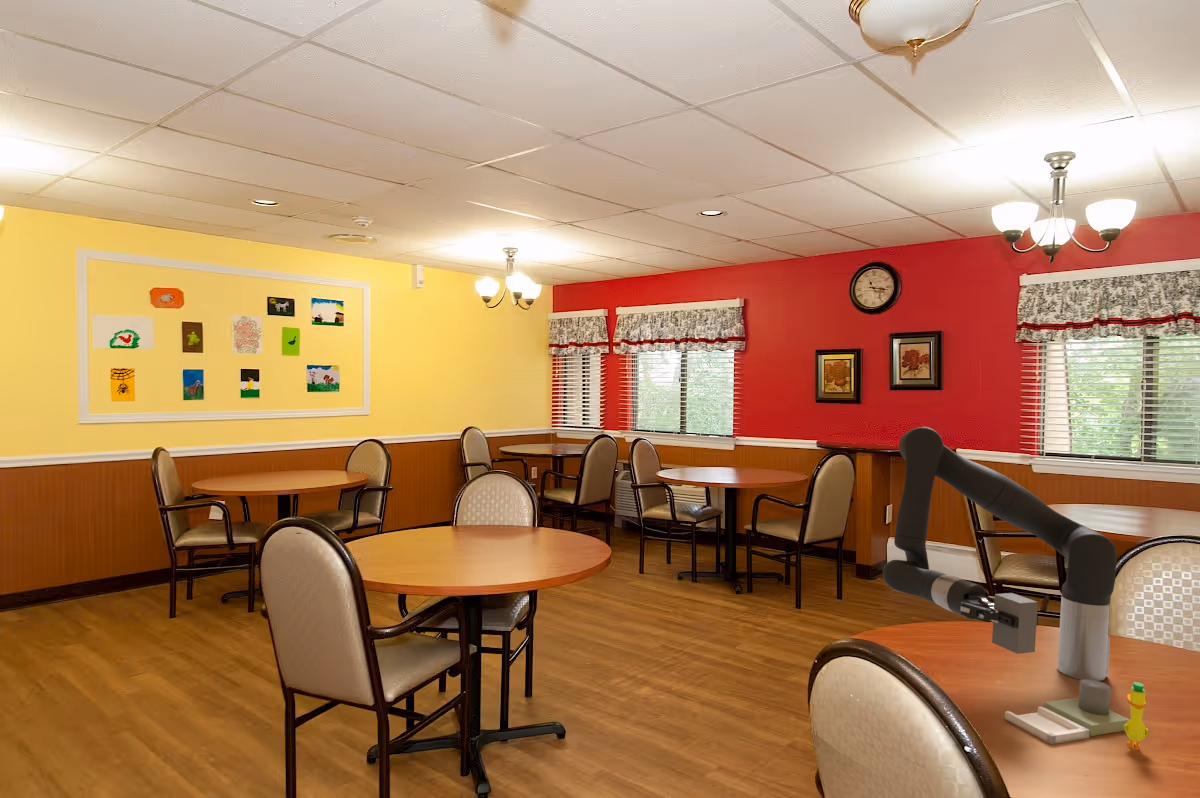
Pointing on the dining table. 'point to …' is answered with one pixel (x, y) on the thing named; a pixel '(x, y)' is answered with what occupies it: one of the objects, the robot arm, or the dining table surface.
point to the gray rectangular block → (1027, 619)
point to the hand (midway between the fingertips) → (1026, 622)
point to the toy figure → (1136, 716)
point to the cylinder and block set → (1073, 716)
